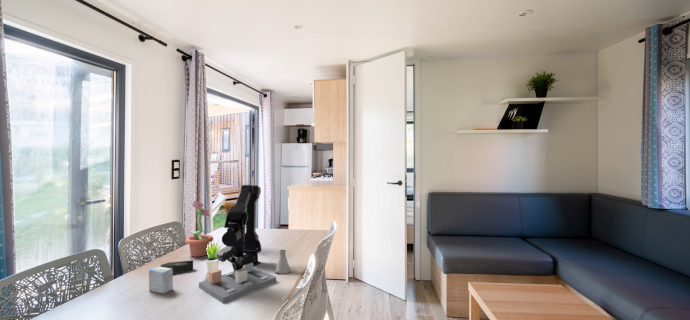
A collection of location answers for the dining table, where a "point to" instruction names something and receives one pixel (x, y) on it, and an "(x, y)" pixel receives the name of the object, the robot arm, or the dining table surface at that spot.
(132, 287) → the dining table surface
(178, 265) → the dark green block
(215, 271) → the salmon pink cuboid
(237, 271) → the ivory cuboid
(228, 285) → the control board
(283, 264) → the flask
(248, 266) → the grey small block
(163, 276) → the medicine box
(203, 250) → the decorative flower
